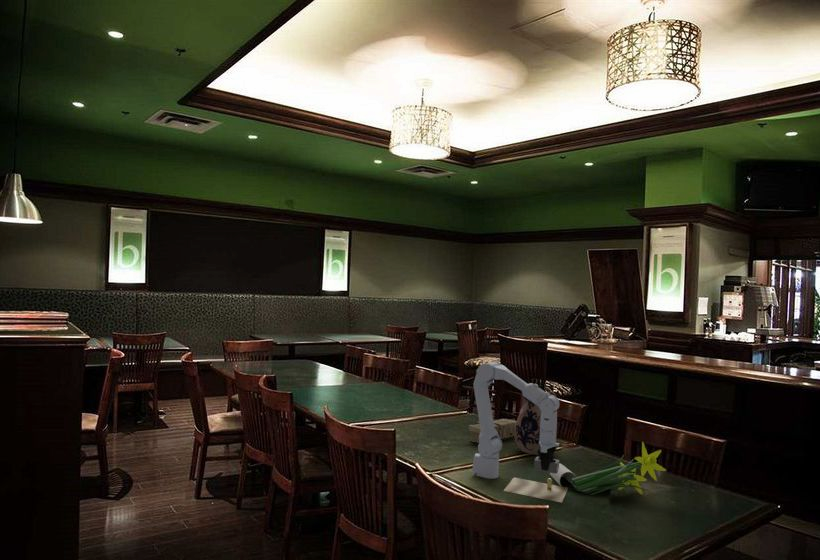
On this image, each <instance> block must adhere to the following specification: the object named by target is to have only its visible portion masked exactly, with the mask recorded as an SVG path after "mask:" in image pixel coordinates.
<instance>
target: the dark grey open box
mask: <svg viewBox="0 0 820 560" xmlns="http://www.w3.org/2000/svg"><path fill="white" fill-rule="evenodd" d="M559 463H560V459H556V458H553V459H551V460H550V464H549V469H548V471H546V470H542V468H541V462H540V457H539V455H536V457H535V458H534V461H533V470H534V471H539V472H543V473H544V472H546V473H549V474H550V473H555V474H557V472H558V471H559Z"/></svg>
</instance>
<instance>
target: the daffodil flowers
mask: <svg viewBox="0 0 820 560" xmlns="http://www.w3.org/2000/svg"><path fill="white" fill-rule="evenodd" d="M661 453H662V449H658V450H656V451H654V452H652V453H650V454H648V451H647V449H646V446H645V443H644V442H643V441H642V442H641V456H635V457H634V458H633V459H631V460H629V462H628V463H627V464H625V463H623V462H622V461H623V459H624V456H625V454H623V455H622V457H620V459H619V460H617V461H615V462H613V463H611V464H609V465H607V466H605V467H601V468H600V469H597V470H596V471H593V472H590V473H588V474H587V473H586V474H583V475H581V476H576V478H573V479H571V480H572V481H573V483H570V484H571V486H573V485H575V486H573V488H574V489H575V491H576V492H579V493H580V492H584V493H586V494H588V493H589V495H597V494H599V493H602V492H605V491H607V490H610V489H617V490H618V491H621V490H624V488H627V487H628V488H634V490H636V491H637V492H638V493H639V494H640V495H643V491H644V490H645V489H644V488H642V487H641V485H640V484H639V482H646V481H647V478H645V477H644V476H645V474H646V473H647V472H648V475H650V477H651V478H652V479H653V480H654V481H655V482H658V480H657V479H658V478H657V476H656V472H655V470H656V471H659V472H660V471H661V472H667V469H666V468H664V467H663V466H662V465H660V464H659V463H657V458H658V457H659V455H660V454H661ZM634 460H636V461H637V462H634ZM640 466H641V467H640ZM637 470H640V473H641V475H638V472H637Z"/></svg>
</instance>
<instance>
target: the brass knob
mask: <svg viewBox="0 0 820 560" xmlns="http://www.w3.org/2000/svg"><path fill="white" fill-rule="evenodd" d="M546 481H547V482H546V484H547V489H549V490H551V489H552V485H553V478H552V477H549V478H547V479H546Z"/></svg>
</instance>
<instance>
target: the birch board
mask: <svg viewBox="0 0 820 560" xmlns="http://www.w3.org/2000/svg"><path fill="white" fill-rule="evenodd" d="M561 486H562V485H561ZM561 486H560V485H555V484H552V489H551V490H549V489H547V482H546V483H544V482H539V481H534V480H529V479H524V478H519V477H513V478H512V479H511V480H510V482H509V483H508V484H507V485H506V487H505V488H504V490H503V492H508V493H513V494H518V495H523V496H527V497H532V498H537V499H542V500H545V501H546V500H547V501H551V502H557V503H563V501H564V498H565V496H566V494H567V492H568V489H569V487H566V486H562V487H561Z"/></svg>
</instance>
